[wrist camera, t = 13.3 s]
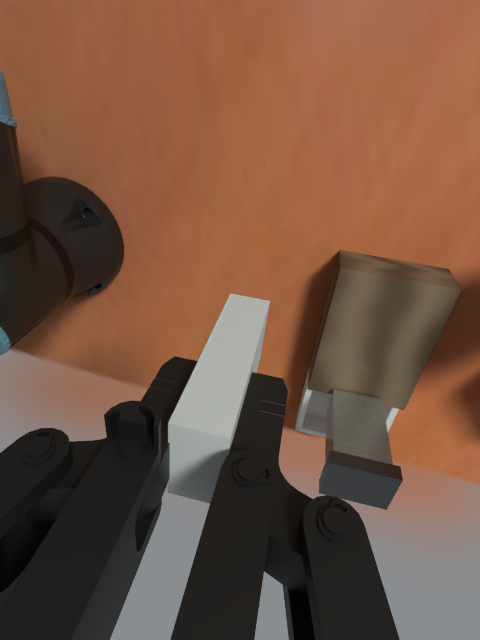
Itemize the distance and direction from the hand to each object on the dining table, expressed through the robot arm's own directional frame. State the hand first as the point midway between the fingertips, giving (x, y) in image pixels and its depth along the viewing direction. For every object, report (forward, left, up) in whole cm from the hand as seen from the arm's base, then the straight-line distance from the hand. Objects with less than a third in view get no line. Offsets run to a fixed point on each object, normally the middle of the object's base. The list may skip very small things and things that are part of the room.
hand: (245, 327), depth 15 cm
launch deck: (+12, -16, -30) cm, 36 cm away
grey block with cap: (+12, -25, -25) cm, 38 cm away
